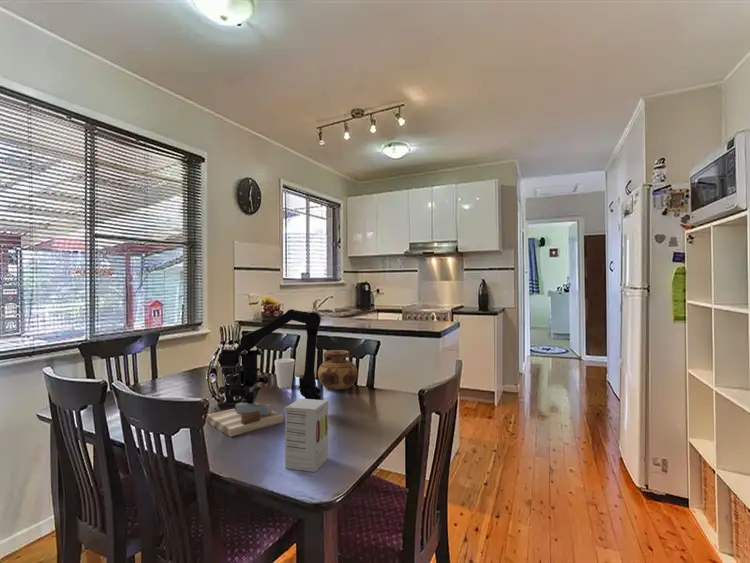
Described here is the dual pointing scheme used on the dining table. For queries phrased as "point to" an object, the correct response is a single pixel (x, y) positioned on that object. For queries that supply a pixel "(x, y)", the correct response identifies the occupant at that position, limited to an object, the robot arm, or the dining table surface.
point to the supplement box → (306, 434)
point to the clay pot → (337, 370)
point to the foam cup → (284, 372)
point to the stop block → (250, 417)
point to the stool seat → (232, 421)
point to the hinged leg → (253, 408)
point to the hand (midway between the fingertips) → (250, 407)
